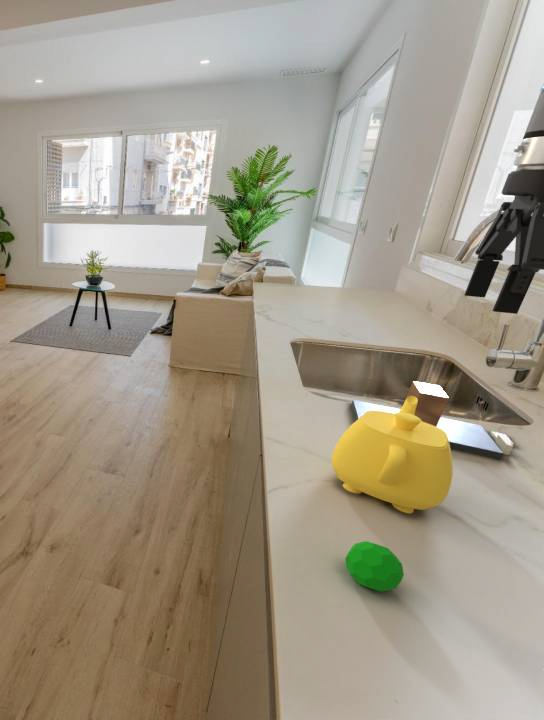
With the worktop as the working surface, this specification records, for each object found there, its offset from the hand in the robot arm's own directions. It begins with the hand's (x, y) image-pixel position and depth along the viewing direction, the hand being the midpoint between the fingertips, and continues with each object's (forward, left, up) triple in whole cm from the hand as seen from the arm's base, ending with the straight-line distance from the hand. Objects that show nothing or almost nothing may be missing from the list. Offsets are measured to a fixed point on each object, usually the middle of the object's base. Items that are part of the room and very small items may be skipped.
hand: (488, 303), depth 74 cm
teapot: (+13, +30, -24) cm, 41 cm away
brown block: (+4, +6, -22) cm, 23 cm away
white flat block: (-9, +2, -23) cm, 25 cm away
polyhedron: (+17, +52, -24) cm, 60 cm away
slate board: (+4, +5, -24) cm, 25 cm away
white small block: (-7, +6, -23) cm, 25 cm away
